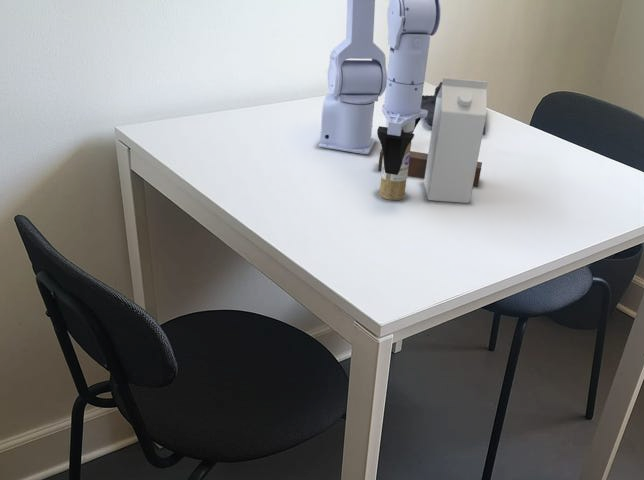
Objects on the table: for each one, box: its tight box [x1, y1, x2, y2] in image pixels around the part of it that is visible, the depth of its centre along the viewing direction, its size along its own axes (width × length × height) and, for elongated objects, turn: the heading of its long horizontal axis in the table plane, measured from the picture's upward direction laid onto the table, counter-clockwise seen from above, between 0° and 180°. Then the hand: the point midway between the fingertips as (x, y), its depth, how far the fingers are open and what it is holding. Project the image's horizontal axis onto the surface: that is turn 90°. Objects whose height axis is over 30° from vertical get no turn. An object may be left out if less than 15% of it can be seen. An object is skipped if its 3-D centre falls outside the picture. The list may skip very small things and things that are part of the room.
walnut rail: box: [377, 148, 483, 188], centre depth 128 cm, size 18×3×4 cm, turn 80°
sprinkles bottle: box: [378, 118, 416, 201], centre depth 116 cm, size 5×5×14 cm
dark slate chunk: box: [421, 81, 486, 136], centre depth 155 cm, size 15×22×5 cm
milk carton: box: [423, 77, 489, 204], centre depth 118 cm, size 7×7×19 cm
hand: (395, 164), depth 117 cm, fingers open, 7 cm apart
